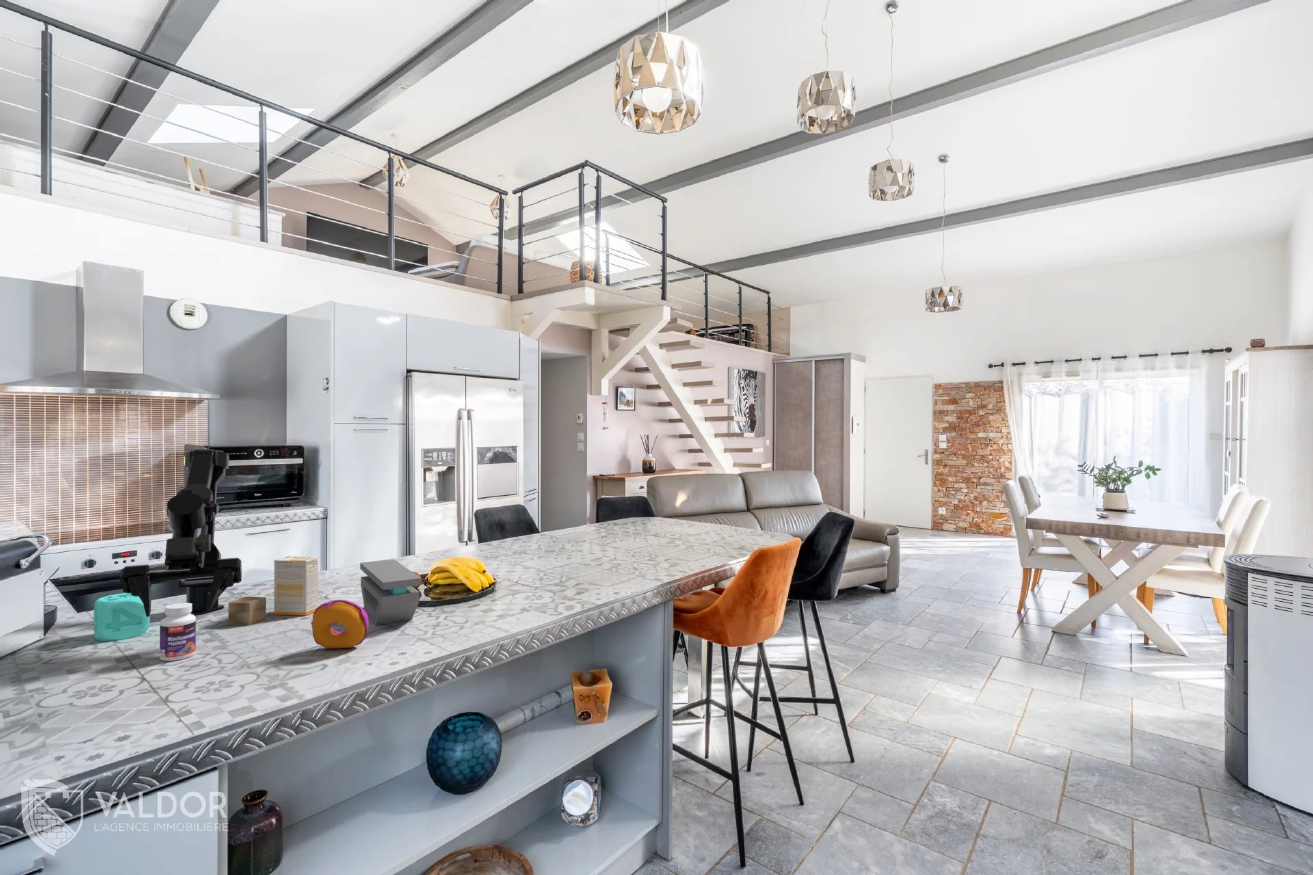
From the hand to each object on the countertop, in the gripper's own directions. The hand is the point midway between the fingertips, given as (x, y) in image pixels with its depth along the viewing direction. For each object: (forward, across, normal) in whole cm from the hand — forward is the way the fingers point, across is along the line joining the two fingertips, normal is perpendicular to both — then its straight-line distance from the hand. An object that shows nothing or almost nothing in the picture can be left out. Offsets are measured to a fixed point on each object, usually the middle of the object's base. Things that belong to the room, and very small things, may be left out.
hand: (178, 612), depth 113 cm
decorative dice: (-9, -12, +21) cm, 25 cm away
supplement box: (-10, +19, +21) cm, 30 cm away
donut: (+14, +27, -2) cm, 30 cm away
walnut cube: (-8, +10, +19) cm, 23 cm away
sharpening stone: (0, +38, +12) cm, 40 cm away
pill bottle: (+6, 0, +6) cm, 9 cm away
